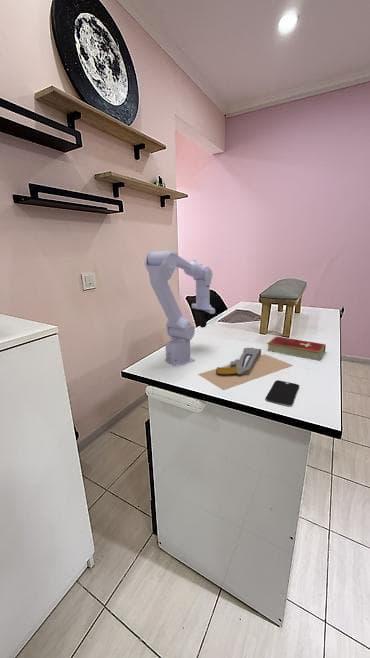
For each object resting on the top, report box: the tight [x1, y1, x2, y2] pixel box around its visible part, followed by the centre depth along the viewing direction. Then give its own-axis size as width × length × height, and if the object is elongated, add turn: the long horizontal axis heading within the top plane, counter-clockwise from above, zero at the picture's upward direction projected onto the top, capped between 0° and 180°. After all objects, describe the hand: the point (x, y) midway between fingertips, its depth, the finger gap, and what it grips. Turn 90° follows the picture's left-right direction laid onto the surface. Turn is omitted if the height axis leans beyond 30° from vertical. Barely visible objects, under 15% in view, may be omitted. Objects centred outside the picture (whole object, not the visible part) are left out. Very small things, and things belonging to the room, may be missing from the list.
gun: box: [215, 347, 262, 375], centre depth 106 cm, size 3×25×15 cm
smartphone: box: [264, 379, 300, 408], centre depth 85 cm, size 8×1×15 cm
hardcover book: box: [266, 335, 327, 361], centre depth 119 cm, size 12×21×4 cm, turn 54°
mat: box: [197, 353, 294, 391], centre depth 102 cm, size 34×14×1 cm, turn 122°
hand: (203, 327), depth 120 cm, fingers closed
